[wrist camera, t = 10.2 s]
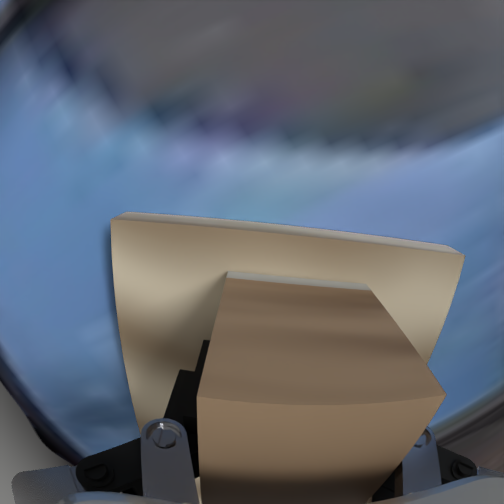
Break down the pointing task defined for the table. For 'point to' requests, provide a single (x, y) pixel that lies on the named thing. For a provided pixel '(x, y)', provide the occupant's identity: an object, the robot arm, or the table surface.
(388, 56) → the table surface
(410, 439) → the block
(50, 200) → the table surface
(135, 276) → the board
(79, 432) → the table surface
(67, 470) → the robot arm
